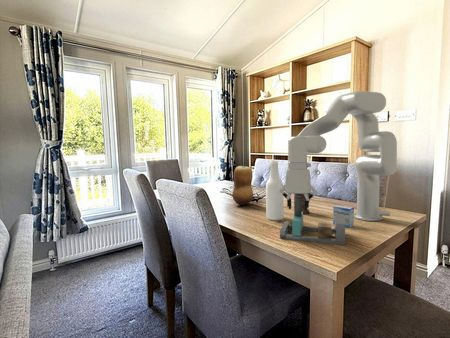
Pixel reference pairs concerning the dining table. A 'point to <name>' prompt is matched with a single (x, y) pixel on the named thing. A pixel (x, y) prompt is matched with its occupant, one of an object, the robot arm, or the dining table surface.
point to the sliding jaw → (297, 216)
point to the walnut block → (324, 230)
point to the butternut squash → (242, 185)
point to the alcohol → (274, 194)
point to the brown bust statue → (303, 203)
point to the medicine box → (344, 214)
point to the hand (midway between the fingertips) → (297, 208)
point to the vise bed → (338, 231)
